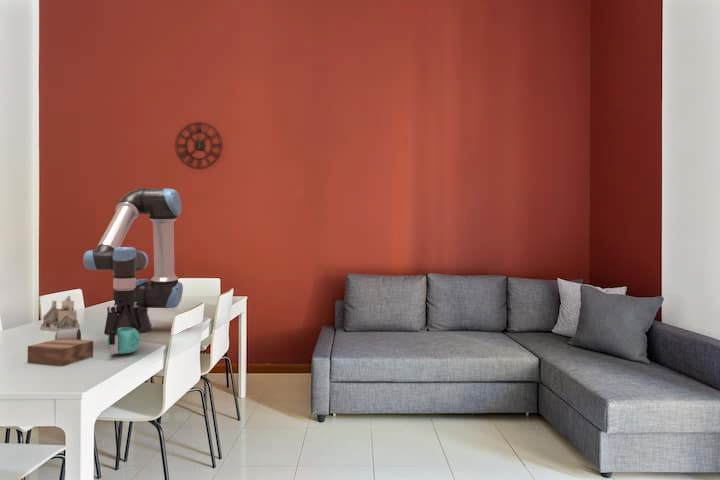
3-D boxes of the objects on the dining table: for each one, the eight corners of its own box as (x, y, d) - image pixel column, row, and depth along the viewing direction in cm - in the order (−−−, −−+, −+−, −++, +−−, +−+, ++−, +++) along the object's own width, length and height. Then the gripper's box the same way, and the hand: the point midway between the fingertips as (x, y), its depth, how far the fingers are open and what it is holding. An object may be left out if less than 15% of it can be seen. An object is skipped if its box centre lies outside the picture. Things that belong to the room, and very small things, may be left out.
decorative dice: (139, 348, 192) (140, 327, 191) (127, 354, 184) (128, 332, 184) (119, 347, 193) (119, 326, 192) (106, 353, 185) (107, 331, 184)
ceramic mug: (58, 346, 199) (59, 327, 199) (81, 345, 202) (81, 326, 201) (51, 352, 190) (51, 332, 189) (75, 351, 192) (75, 331, 192)
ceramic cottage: (43, 325, 239) (45, 294, 238) (82, 326, 244) (84, 294, 243) (33, 334, 224) (35, 300, 223) (75, 334, 229) (77, 301, 228)
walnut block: (60, 354, 187) (60, 338, 187) (93, 357, 184) (93, 340, 184) (27, 363, 174) (27, 346, 174) (61, 367, 170) (62, 349, 170)
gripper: (137, 285, 199) (137, 343, 200) (92, 291, 178) (92, 356, 179) (153, 286, 197) (152, 344, 197) (109, 293, 176) (109, 358, 177)
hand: (123, 350), depth 188 cm, fingers closed on decorative dice, 9 cm apart
